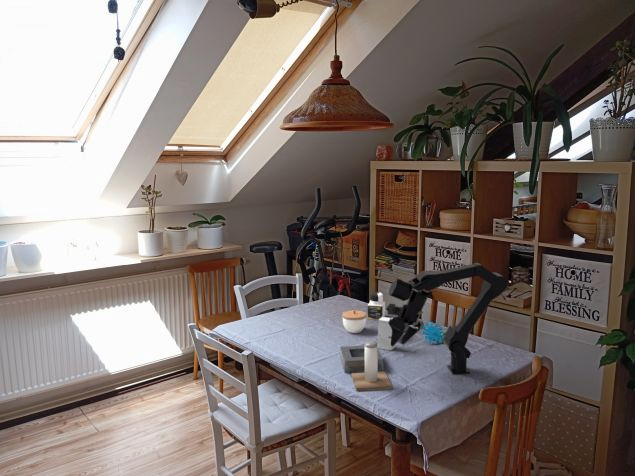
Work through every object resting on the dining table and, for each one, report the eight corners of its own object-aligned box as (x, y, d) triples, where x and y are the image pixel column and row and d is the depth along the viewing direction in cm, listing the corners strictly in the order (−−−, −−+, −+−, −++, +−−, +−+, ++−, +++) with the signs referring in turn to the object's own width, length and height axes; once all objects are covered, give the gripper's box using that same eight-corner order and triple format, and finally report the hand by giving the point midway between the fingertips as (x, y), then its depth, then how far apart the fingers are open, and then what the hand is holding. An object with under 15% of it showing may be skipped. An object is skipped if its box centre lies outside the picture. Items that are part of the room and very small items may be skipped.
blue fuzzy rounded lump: (425, 342, 217) (421, 320, 223) (419, 348, 222) (416, 326, 228) (450, 343, 220) (445, 321, 225) (444, 349, 224) (440, 328, 230)
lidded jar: (370, 332, 235) (370, 312, 233) (348, 336, 231) (348, 315, 229) (360, 325, 245) (360, 305, 243) (338, 328, 241) (338, 308, 239)
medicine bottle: (367, 319, 253) (367, 294, 251) (370, 314, 260) (370, 290, 258) (382, 320, 251) (382, 295, 249) (385, 315, 258) (385, 291, 256)
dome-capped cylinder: (380, 380, 185) (380, 344, 183) (369, 383, 183) (369, 347, 180) (372, 375, 188) (372, 340, 186) (362, 378, 186) (362, 343, 184)
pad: (391, 388, 180) (391, 386, 180) (356, 390, 179) (356, 388, 179) (384, 374, 192) (384, 371, 192) (351, 375, 191) (351, 373, 191)
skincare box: (377, 348, 217) (377, 319, 215) (382, 344, 220) (381, 316, 218) (392, 350, 214) (392, 321, 212) (396, 347, 217) (396, 318, 215)
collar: (383, 370, 195) (383, 358, 194) (344, 372, 194) (344, 360, 193) (376, 356, 209) (375, 345, 208) (340, 357, 208) (340, 346, 207)
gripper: (406, 295, 201) (389, 332, 203) (385, 294, 185) (367, 335, 187) (431, 309, 195) (414, 347, 197) (412, 309, 179) (393, 351, 181)
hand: (397, 344), depth 191 cm, fingers open, 9 cm apart
